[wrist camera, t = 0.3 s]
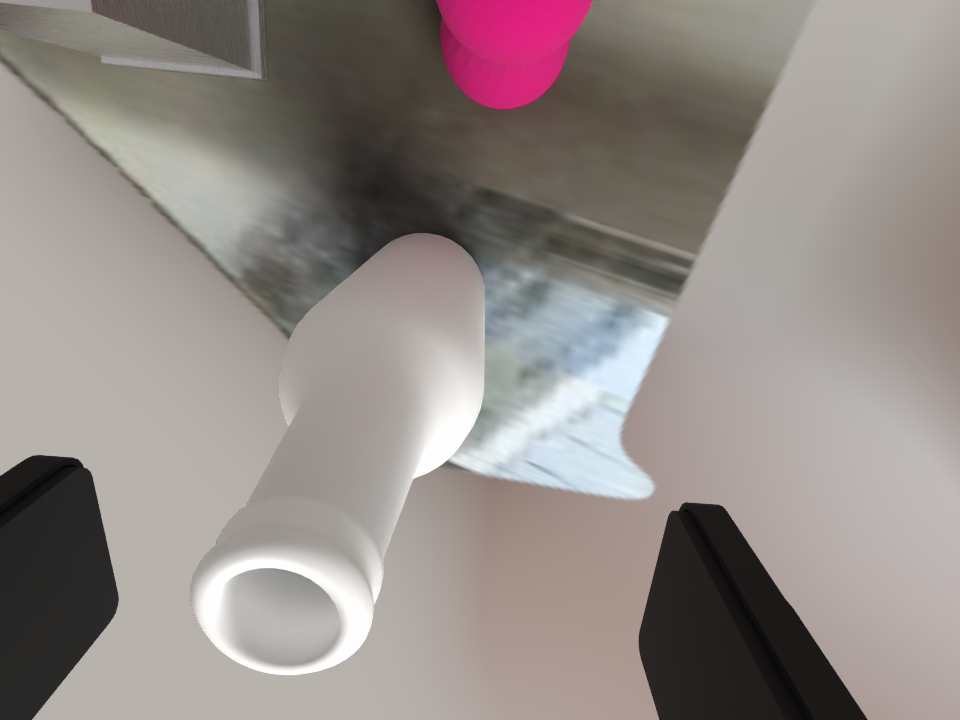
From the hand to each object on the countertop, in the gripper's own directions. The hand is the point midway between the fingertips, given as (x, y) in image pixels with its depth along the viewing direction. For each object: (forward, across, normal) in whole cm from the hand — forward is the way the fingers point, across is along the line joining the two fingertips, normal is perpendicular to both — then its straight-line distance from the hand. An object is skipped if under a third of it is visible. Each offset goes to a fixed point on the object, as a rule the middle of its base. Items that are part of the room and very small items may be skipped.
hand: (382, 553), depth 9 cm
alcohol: (+32, +3, +4) cm, 32 cm away
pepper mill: (+32, -2, -12) cm, 34 cm away
